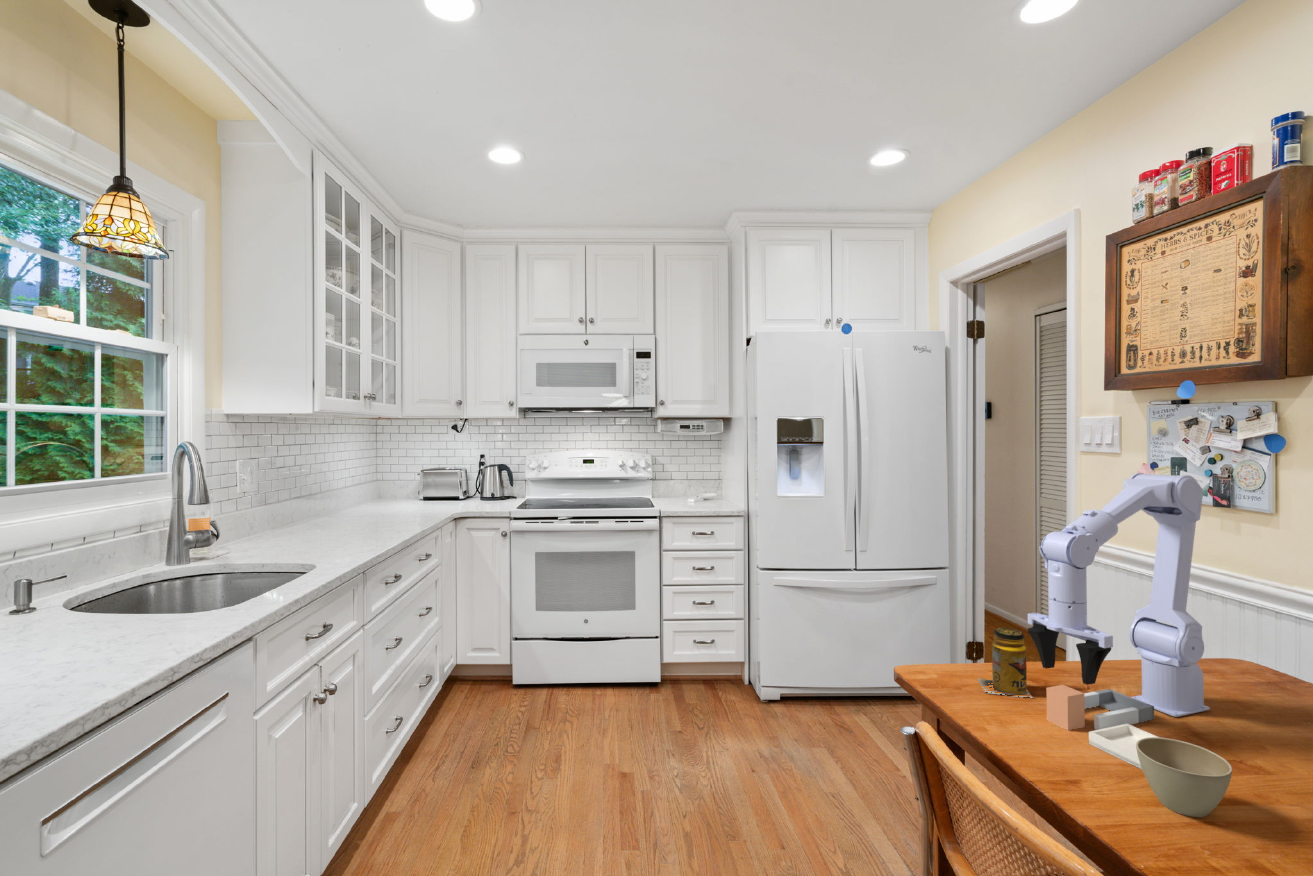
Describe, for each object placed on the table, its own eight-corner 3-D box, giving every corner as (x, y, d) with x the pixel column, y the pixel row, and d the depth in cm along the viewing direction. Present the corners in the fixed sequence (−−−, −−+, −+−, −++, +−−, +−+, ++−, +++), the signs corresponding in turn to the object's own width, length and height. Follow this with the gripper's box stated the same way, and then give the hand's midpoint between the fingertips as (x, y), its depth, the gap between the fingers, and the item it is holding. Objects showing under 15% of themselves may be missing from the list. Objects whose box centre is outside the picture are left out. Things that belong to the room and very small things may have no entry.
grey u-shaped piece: (1109, 701, 116) (1108, 688, 116) (1154, 719, 108) (1154, 706, 108) (1093, 704, 114) (1093, 691, 114) (1138, 722, 107) (1138, 709, 107)
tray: (1127, 735, 102) (1127, 723, 102) (1187, 761, 94) (1187, 749, 94) (1088, 743, 100) (1088, 731, 100) (1147, 772, 91) (1147, 759, 91)
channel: (1093, 704, 114) (1093, 691, 114) (1138, 722, 107) (1138, 709, 107) (1056, 711, 112) (1056, 698, 112) (1099, 731, 104) (1099, 717, 104)
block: (1063, 717, 109) (1062, 684, 109) (1084, 727, 106) (1084, 693, 106) (1046, 720, 108) (1046, 687, 108) (1068, 730, 104) (1067, 696, 104)
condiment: (1033, 699, 117) (1032, 638, 117) (985, 694, 120) (984, 634, 120) (1022, 684, 124) (1022, 626, 124) (977, 680, 127) (976, 623, 127)
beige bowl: (1118, 787, 87) (1117, 739, 87) (1181, 783, 88) (1181, 735, 88) (1184, 832, 77) (1183, 777, 77) (1254, 827, 78) (1253, 773, 78)
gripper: (1015, 591, 113) (1015, 663, 113) (1091, 612, 99) (1092, 694, 99) (1043, 588, 115) (1043, 659, 115) (1121, 608, 101) (1122, 688, 101)
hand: (1068, 675), depth 107 cm, fingers open, 7 cm apart
